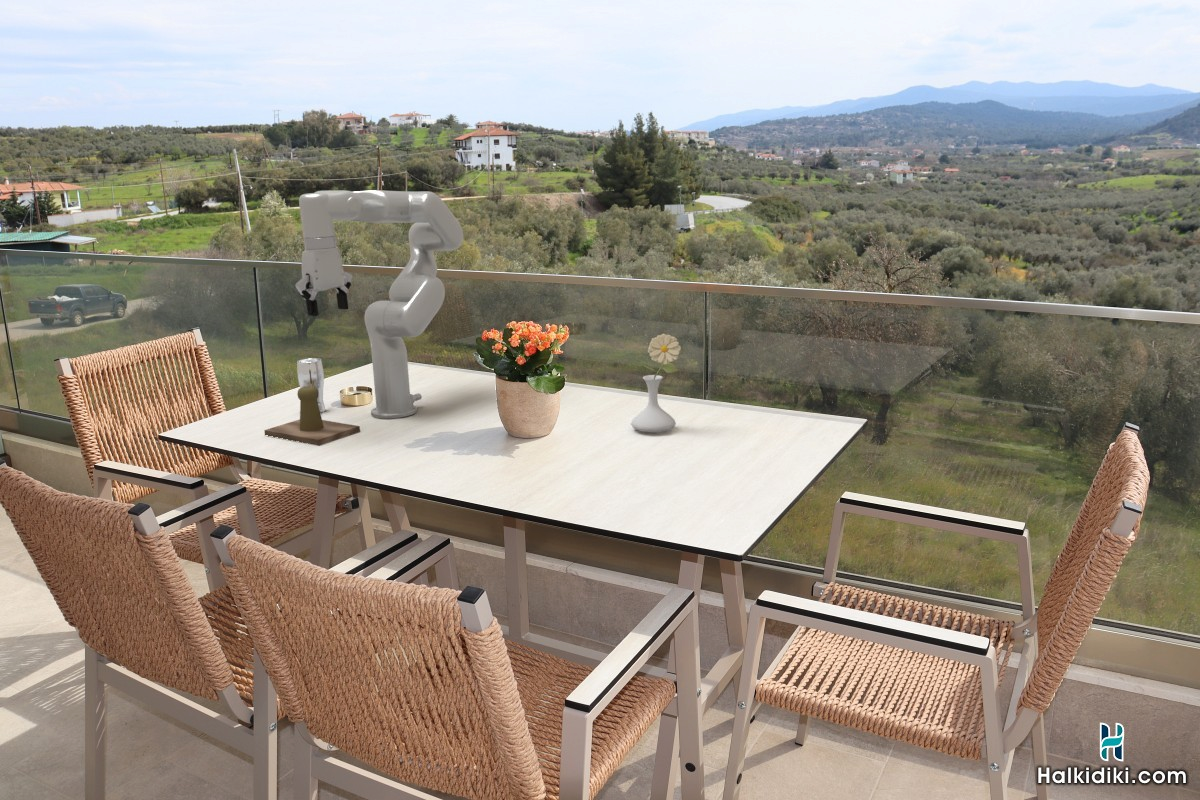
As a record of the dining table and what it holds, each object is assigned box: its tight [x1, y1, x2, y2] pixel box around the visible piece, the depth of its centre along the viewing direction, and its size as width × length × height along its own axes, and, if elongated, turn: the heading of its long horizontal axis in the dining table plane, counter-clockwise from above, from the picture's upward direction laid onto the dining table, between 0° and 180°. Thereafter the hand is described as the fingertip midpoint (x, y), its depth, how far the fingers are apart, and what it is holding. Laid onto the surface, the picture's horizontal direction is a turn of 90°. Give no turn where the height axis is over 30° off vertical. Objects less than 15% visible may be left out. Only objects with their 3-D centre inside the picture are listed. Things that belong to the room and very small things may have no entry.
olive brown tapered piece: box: [297, 386, 324, 431], centre depth 236 cm, size 6×6×11 cm
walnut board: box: [264, 418, 361, 446], centre depth 237 cm, size 14×20×2 cm
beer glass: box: [296, 357, 327, 415], centre depth 258 cm, size 7×7×15 cm
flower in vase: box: [630, 333, 682, 433], centre depth 229 cm, size 13×11×25 cm
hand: (328, 312), depth 231 cm, fingers open, 9 cm apart
